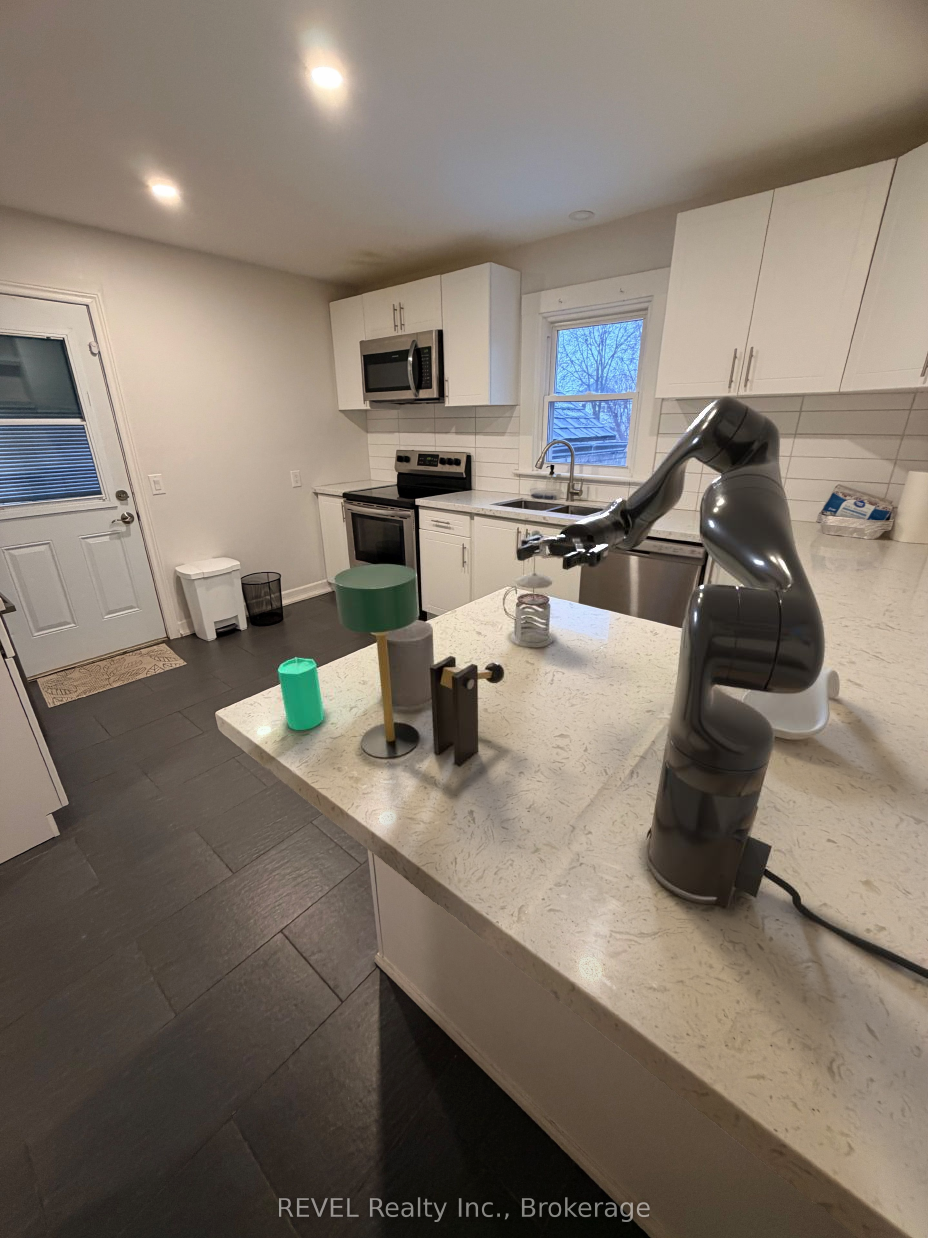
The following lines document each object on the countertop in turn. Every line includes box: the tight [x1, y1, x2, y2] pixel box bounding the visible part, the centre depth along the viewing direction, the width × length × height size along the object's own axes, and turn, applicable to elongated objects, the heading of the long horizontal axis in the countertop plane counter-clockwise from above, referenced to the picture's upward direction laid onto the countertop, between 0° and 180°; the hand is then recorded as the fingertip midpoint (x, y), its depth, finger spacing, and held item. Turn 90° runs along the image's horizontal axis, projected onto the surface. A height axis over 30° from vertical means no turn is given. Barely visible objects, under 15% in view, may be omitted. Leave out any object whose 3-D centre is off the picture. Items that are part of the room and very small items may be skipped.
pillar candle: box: [386, 619, 435, 707], centre depth 87 cm, size 10×10×15 cm
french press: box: [502, 529, 554, 648], centre depth 109 cm, size 10×12×25 cm
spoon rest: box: [740, 667, 841, 741], centre depth 82 cm, size 24×12×7 cm, turn 127°
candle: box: [277, 656, 325, 731], centre depth 82 cm, size 6×6×12 cm
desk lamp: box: [333, 563, 421, 760], centre depth 71 cm, size 15×11×28 cm
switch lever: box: [440, 662, 505, 689], centre depth 73 cm, size 13×3×3 cm, turn 141°
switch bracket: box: [430, 655, 479, 768], centre depth 71 cm, size 12×9×16 cm
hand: (541, 559), depth 80 cm, fingers open, 8 cm apart
